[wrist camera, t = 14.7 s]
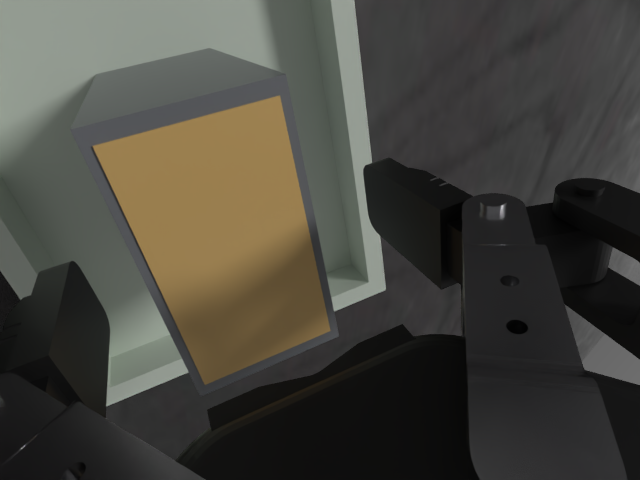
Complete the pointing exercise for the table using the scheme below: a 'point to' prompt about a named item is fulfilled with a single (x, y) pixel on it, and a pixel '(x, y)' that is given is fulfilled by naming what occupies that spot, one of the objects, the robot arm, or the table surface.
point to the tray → (81, 189)
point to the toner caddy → (212, 207)
